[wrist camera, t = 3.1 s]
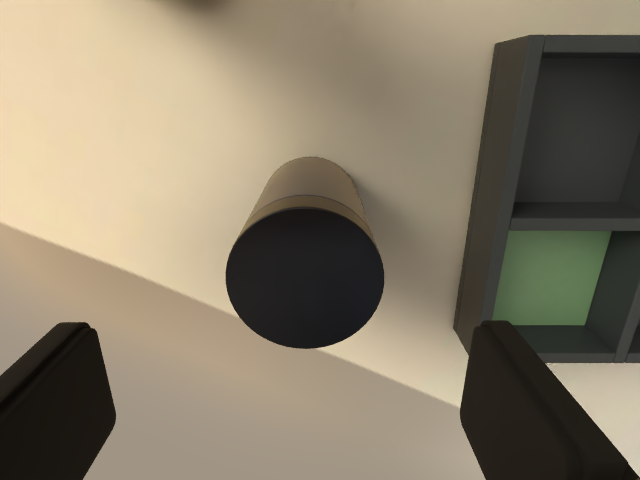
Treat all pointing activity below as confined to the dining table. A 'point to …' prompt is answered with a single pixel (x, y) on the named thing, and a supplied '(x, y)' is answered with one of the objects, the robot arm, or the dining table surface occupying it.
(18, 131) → the dining table surface
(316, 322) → the thermos
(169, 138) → the dining table surface
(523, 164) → the tray
